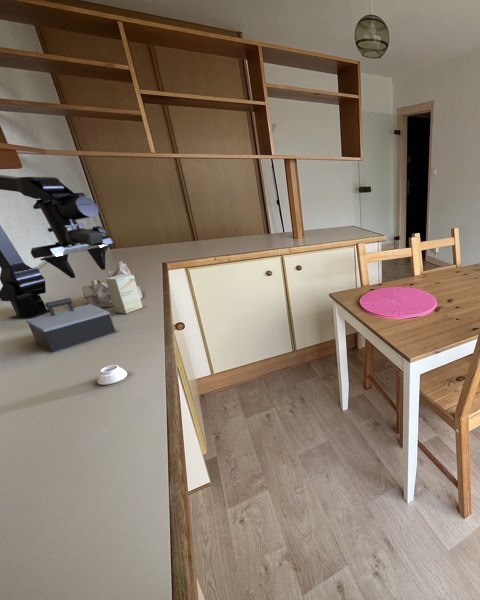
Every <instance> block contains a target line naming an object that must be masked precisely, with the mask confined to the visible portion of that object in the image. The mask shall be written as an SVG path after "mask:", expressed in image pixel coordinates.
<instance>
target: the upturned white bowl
mask: <svg viewBox="0 0 480 600" xmlns="http://www.w3.org/2000/svg"><path fill="white" fill-rule="evenodd" d="M127 375H128V372H127V371H126V370H125V369H123V368H122V367H121V366H119V365H116V364H110V365H106V366H105V367H103V368H101V369H100V372H99V374H98V377H97V380H96V381H97V384H98V385H104V386H105V385H112V384H116V383H118V382H120V381H122V380H124V379H125V378H126V377H127Z"/></svg>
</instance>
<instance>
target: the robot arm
mask: <svg viewBox="0 0 480 600" xmlns="http://www.w3.org/2000/svg"><path fill="white" fill-rule="evenodd" d="M0 190H1V191H9V192H17V193H20V194H22V196H25V197H28V198H32V199H35V200H36V202H35V203H34V204H33V206H32V208H33V209H34V210H41V212H42V214H43V215H44V218H45V219H46V221H47V223H48V225H49V228H47V231H48V233H53V234H54V236H55V238H56V240H57V241H55V242H54V244H49V245H43V246H42V245H41V246H36V247H31V249H30V255H31V256H32V258H33V259H39V258H40V261H45V262H47V263H49V264H50V265H52V266H54V267H55V268H57V269H58V270H59V271H61V272H62V273H63V274H65V275H66V276H68V277H69V278H70V279H75V278H76V275H75V272H74V270H73V268H72V266H71V263H70V262H69V260H68V258H69V253H65V252H68V251H71V250H77V249H78V250H79V249H83V248H87V247H88V248H87V249H86V251H87V252H88V254H89V255H90V256H91V258H92V260H93V261H94V262H95V263H96V265H97V266H98V267H99V269H100V270H102V271H104V270H106V268H107V267H106V252H107V251H108V249H109V248H111V244H114V241H113V239H112V238H111V237H110V236H109V235H107V231H106V230H105V228H104V227H103V226H100V225H97V226H92V228H85V226H84V224H82V223H78V222H77V221H78V220H84V219H89V218H94V217H97V216H98V215H99V212H100V209H99V205H98V204H97V203H96V202H95V201H94V200H93V199H91V198H89V197H88V196H86V194H85V192H74V191H73V190H72V189H70V188H69V187H67V186H66V185H65V184H64V183H63V182H62V181H60V179H59V178H57V177H54V176H22V177H21V176H14V175H13V176H11V175H4V174H0ZM0 269H1V270H0V283H1V285H2V286H1V288H0V300H1V302H10V304H11V305H12V308H13V310H14V312H15V314H14V315H11V316H10V317H11V318H12V319H32V318H36V317H39V316H42V315H43V314H46V313H48V312H49V309H48V308H47V307H46V305H45V302H44V300H43V299H42V297H41V294H46V292H47V290H46V289H47V288H46V280H45V279H46V278H45V277H44V276H43V275H42V273H41V271H40V269H39V268H37V267H35V266H34V267H31V266H29V265H27V264H26V263H25V262H24V260H23V259H22V257H21V256H20V254H19V253H18V251H17V249H16V248H15V246H14V244H13V243H12V241H11V240H10V238H9V237H8V235H7V233H6V232H5V230H4V228H3V227H2V225H0ZM49 313H50V312H49Z"/></svg>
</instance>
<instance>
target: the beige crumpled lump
mask: <svg viewBox="0 0 480 600" xmlns="http://www.w3.org/2000/svg"><path fill="white" fill-rule="evenodd" d="M129 269H130V268H129V267H128V266H127V263H124V262H123V261H118V266H117V268H116V270H109V271H107V274H108V278H110V277H114V276H118V275H122V274H130V275H132V274H131V271H130V270H129ZM137 289H138V292H139V296H140V299H142V298H143V293H142V290H141V287H140V286H137ZM81 290H82V296H83V298H84V299H85V300H87V302H86V305H88V304H91V305H94V306H96V307H99V308H101V309H102V308H111V307H114V304H113V301H112V298H111V295H110V292H109V289H108V285H107V282H106V279H102V278H98V279H94V280H91V285H83V286H82V287H81Z"/></svg>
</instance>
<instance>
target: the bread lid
mask: <svg viewBox="0 0 480 600" xmlns="http://www.w3.org/2000/svg"><path fill="white" fill-rule="evenodd" d="M44 304H45V307H46V309H49V313H48V314H45V315H39V316H36V317H33V318H27V319H25V322H26V323H27V324H28V325H29V324H30V325H32V326H34V327H36V328H37V329H39V330H41V331H43V332H47V331H50V330H54V329H57V328H61V327H64V326H68V325H72V324H75V323H79V322H82V321H86V320H89V319H93V318H97V317H100V316H104V315H107V314H110V312H109V310H107V309H103V308H102V307H101V308H99V307H96V306H94V305H91V304H88V305H87V304H85V305H81V306H77V307H74V306H73V300H72V298H70V297H67V298H64V299H59V300H54V301H49V302H44ZM66 305H67V306H68V309H65V310H61V311H56V312H55V311H54V308H57V307H58V308H59V307H61V306H66Z"/></svg>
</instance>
